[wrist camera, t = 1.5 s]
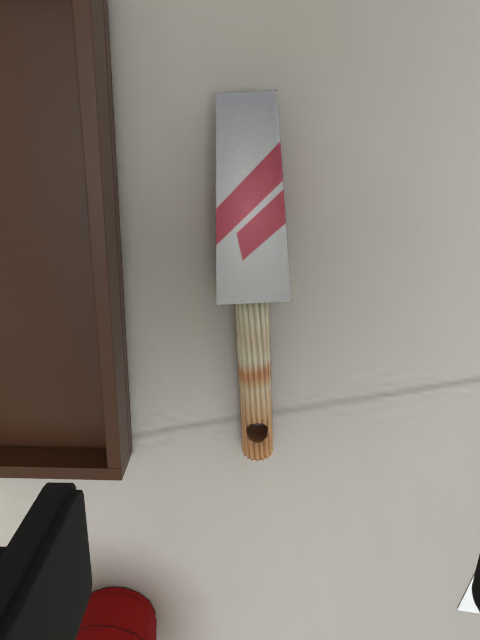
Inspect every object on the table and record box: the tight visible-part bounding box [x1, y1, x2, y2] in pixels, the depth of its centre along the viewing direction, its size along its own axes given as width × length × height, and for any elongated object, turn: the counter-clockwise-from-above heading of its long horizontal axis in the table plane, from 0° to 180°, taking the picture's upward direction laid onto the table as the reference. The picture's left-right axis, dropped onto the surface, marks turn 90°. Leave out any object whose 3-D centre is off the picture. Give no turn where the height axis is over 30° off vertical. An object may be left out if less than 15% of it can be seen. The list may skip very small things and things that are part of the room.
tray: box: [0, 0, 132, 480], centre depth 23 cm, size 26×11×3 cm, turn 178°
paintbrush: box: [216, 90, 291, 461], centre depth 24 cm, size 4×3×20 cm
